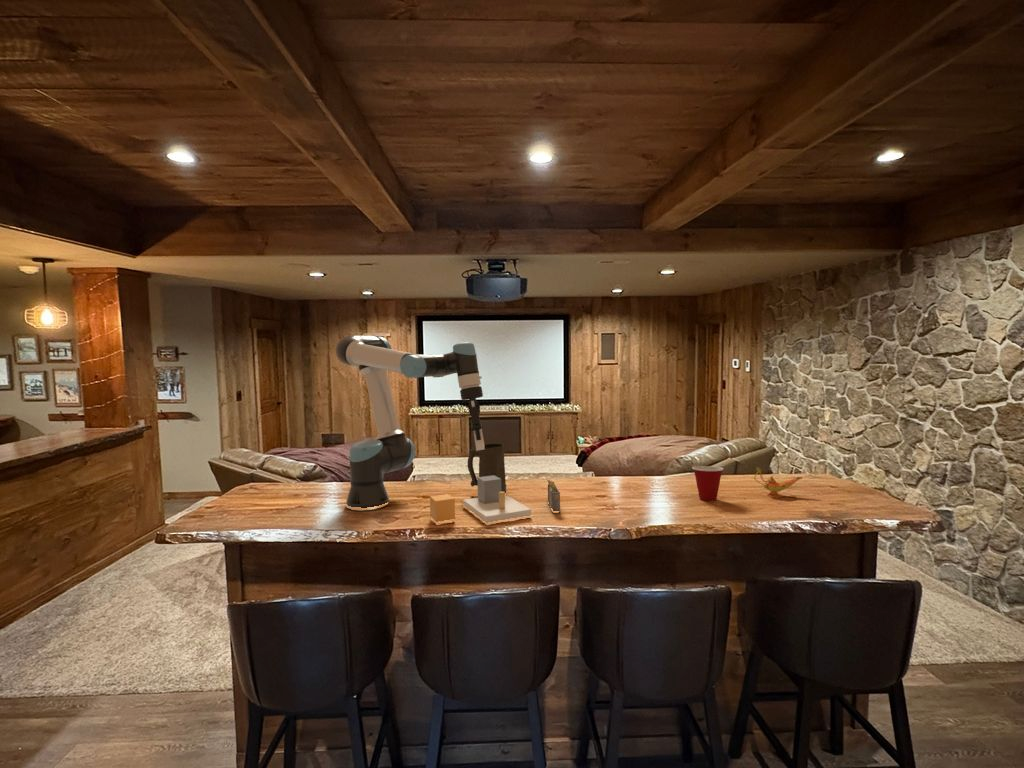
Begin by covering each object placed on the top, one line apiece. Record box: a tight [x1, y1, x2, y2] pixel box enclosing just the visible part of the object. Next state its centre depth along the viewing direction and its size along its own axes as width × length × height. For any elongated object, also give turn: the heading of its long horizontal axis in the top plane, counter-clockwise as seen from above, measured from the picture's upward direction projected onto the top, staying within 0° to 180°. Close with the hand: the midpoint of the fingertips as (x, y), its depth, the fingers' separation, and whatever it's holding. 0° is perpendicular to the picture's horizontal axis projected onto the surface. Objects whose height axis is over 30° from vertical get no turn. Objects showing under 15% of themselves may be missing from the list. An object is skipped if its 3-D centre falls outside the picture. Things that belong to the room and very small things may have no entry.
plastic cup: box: [691, 465, 724, 502], centre depth 188 cm, size 11×11×12 cm
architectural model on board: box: [546, 479, 561, 512], centre depth 180 cm, size 11×3×10 cm, turn 4°
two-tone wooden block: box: [429, 493, 456, 522], centre depth 169 cm, size 6×6×8 cm
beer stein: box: [467, 443, 507, 493], centre depth 200 cm, size 15×11×20 cm
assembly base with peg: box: [462, 475, 532, 523], centre depth 177 cm, size 22×16×11 cm
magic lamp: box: [753, 466, 803, 499], centre depth 191 cm, size 7×18×11 cm, turn 89°
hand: (480, 448), depth 176 cm, fingers open, 13 cm apart
